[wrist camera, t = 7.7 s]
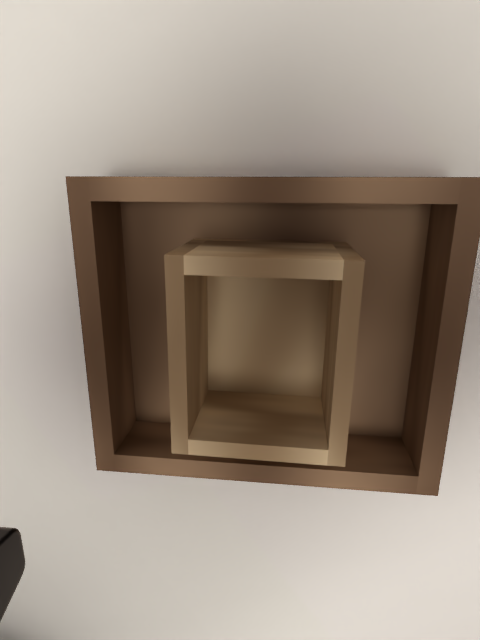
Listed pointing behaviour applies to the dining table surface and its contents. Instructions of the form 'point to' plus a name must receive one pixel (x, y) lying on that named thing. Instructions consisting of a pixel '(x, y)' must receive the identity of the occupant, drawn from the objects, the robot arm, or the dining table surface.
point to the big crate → (286, 225)
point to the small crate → (262, 348)
